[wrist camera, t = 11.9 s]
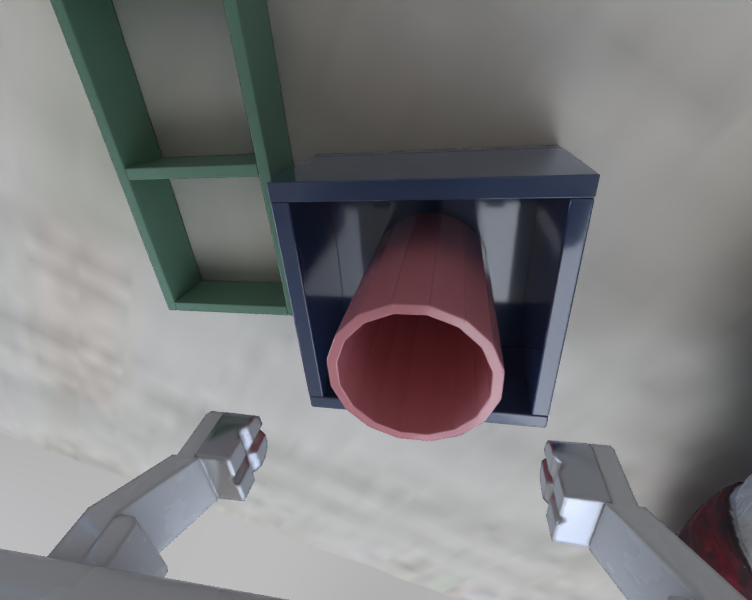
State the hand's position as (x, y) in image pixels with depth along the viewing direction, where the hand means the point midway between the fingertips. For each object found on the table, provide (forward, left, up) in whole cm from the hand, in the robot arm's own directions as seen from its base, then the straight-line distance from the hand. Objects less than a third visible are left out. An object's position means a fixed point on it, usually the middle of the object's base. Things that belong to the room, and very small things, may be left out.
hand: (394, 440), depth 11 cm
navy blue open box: (0, 0, -13) cm, 13 cm away
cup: (0, 0, -13) cm, 13 cm away
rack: (-6, -11, -13) cm, 18 cm away
